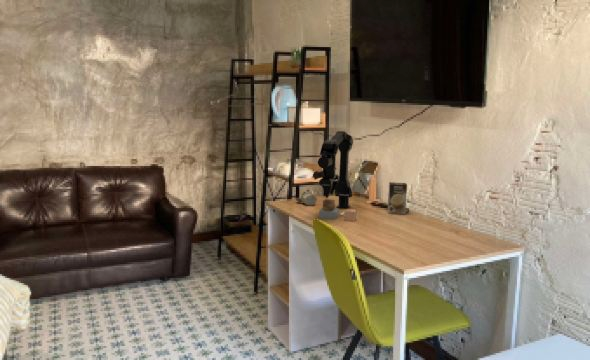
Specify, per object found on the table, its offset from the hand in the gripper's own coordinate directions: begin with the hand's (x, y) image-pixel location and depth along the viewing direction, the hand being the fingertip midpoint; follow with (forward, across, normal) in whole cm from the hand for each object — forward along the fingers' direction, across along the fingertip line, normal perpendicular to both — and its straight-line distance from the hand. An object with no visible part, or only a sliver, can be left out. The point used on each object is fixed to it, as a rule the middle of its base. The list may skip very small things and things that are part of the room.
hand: (329, 196), depth 262 cm
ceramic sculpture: (+11, -27, -20) cm, 35 cm away
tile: (+11, -8, +8) cm, 16 cm away
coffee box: (+11, -21, +32) cm, 40 cm away
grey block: (+11, 0, 0) cm, 11 cm away
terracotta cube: (+11, +3, +12) cm, 17 cm away
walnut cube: (+7, 0, 0) cm, 7 cm away
